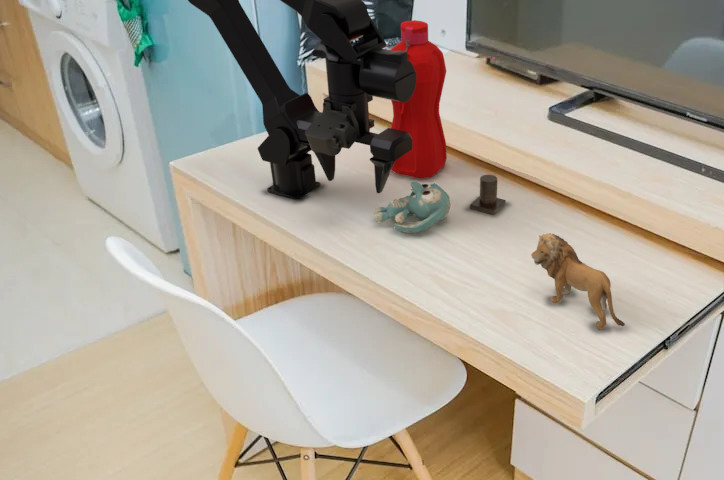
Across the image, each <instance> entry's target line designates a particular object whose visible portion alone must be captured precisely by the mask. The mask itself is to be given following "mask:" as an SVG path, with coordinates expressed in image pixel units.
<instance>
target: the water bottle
mask: <svg viewBox="0 0 724 480" xmlns="http://www.w3.org/2000/svg"><path fill="white" fill-rule="evenodd" d="M390 50H391V51H405V52H407V54H408V61H410V62H411V63H412V64H413V67H414V70H415V72H416V76H417V77H416V86H415V90H414V93H413V95H412V97H411V98H410V99H409V100H408V101H407V102H404V103H403V102H398V101H393V100H390V101H391V105H392V115H393V116H392V122H391V127H390V128H392V129H397V130H401V131H405V132H408V133H409V134H410V135H411V137H412V150H410V151H409V152H408V153H406V154H405V155H403V156H402V157H400V158H399V159H397V160H396V161H395V163H394V165H393V167H392V169H391V171H392V172H393V173H394V174H395V175H402V176H406V177H411V178H415V179H420V180H421V179H422V180H423V179H430V178H431V177H433V176H436V175H437V174H438V173H439V171H440V170H442V169H443V168H444V167H445V164H446V161H447V159H448V158H447V157H448V156H447V142H446V136H445V134H444V128H443V123H442V118H441V115H440V102H441V97H442V92H443V89H444V86H445V85H444V84H445V80H446V76H447V67H446V62H445V57H444V52H443V51H442V50H441V49H440V48H439V47H438V46H437V45H436V44H435V43H433V42H432V41H430V40H429V24H428V22H425V21H422V20H415V19H414V20H405V21H402V22H401V23H400V41H399V42H398V43H397V44H396V45H394V46H393V47H392V48H390Z"/></svg>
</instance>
